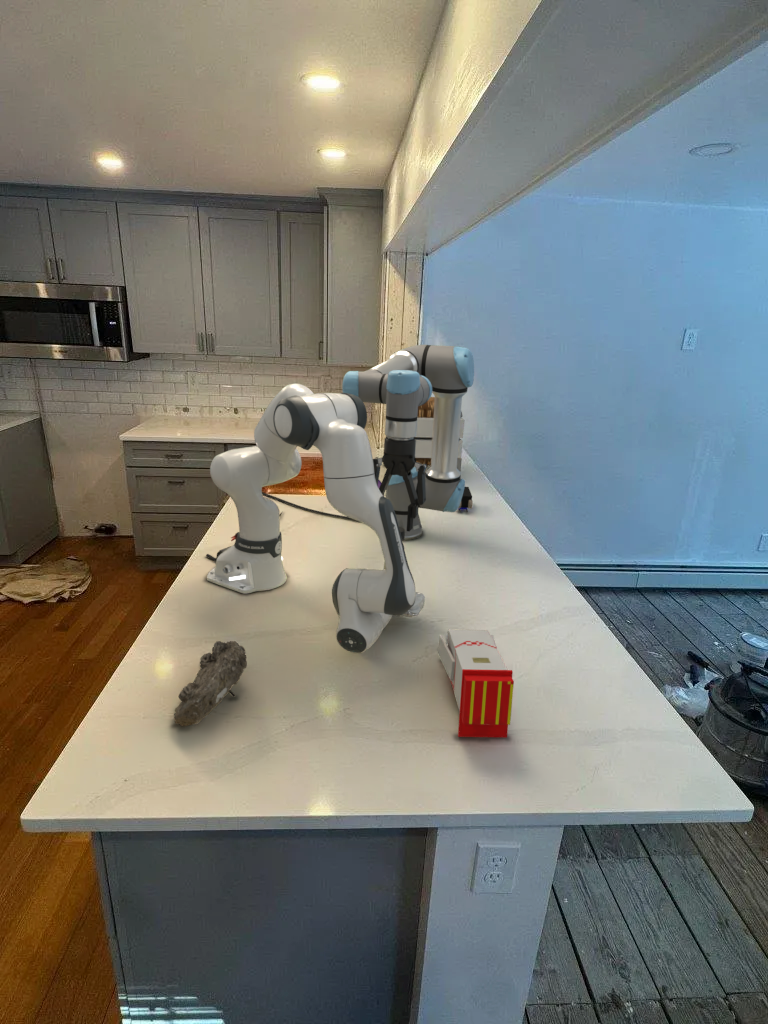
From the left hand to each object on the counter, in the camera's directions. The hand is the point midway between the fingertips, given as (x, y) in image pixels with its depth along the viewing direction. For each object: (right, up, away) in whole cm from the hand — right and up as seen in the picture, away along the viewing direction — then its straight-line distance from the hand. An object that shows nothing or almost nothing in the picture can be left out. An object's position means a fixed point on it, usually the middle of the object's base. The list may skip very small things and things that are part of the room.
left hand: (393, 584), depth 149 cm
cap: (0, +14, -6) cm, 16 cm away
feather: (-41, +18, +62) cm, 77 cm away
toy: (+15, -19, -31) cm, 39 cm away
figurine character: (+29, +21, +79) cm, 87 cm away
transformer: (+15, +38, +125) cm, 132 cm away
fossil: (-36, -18, -35) cm, 54 cm away
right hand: (0, +15, -7) cm, 17 cm away
